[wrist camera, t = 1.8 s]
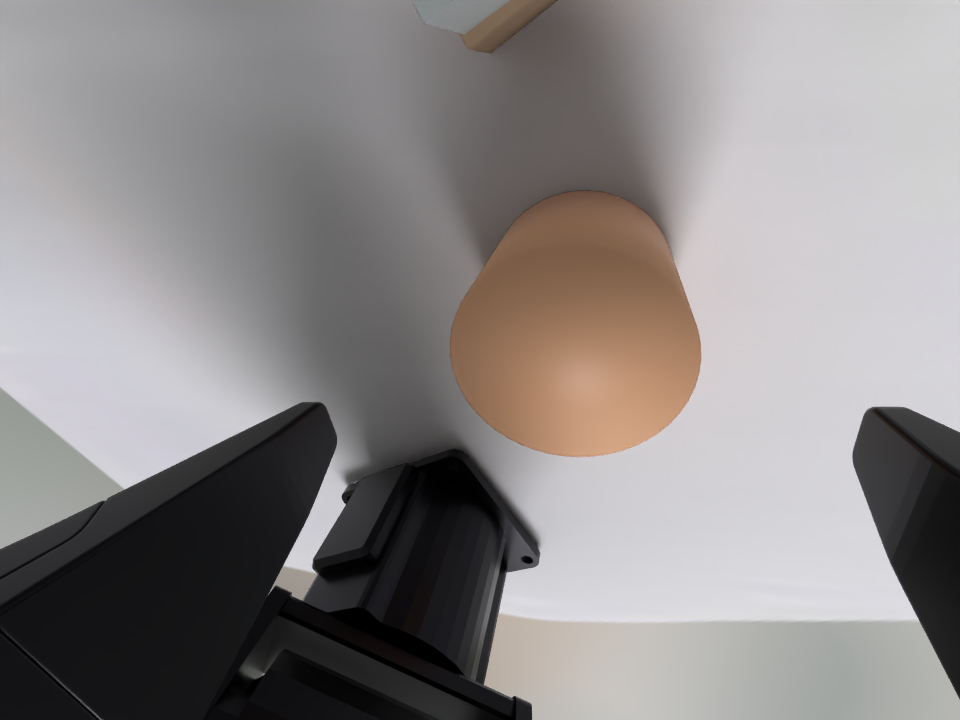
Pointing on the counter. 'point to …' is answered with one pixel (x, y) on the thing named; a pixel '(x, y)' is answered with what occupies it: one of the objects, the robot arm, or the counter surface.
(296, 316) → the counter surface
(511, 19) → the base slab
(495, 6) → the top slab
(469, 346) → the tan rounded lump
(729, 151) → the counter surface
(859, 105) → the counter surface
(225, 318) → the counter surface
